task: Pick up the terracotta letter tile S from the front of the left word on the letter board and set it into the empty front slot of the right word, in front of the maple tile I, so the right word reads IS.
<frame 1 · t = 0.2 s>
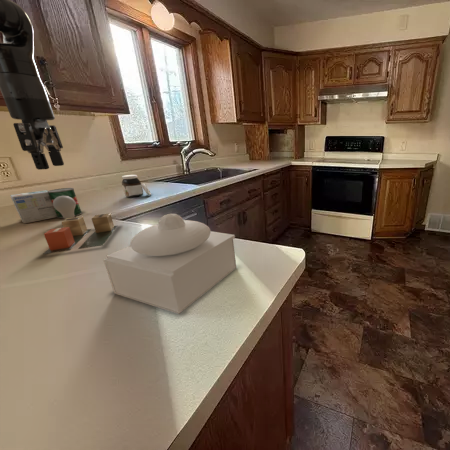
hand: (51, 167, 64), 23 cm above the counter, tool pointing down, fingers open, 8 cm apart
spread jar: (139, 196, 136), on the counter
light bulb box: (41, 219, 100), on the counter, touching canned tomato
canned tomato: (70, 215, 104), on the counter, touching light bulb box
letter board: (86, 241, 77), on the counter
tile i: (105, 229, 83), point 1 cm above the counter, touching letter board
tile a: (77, 233, 80), point 1 cm above the counter, touching letter board
lightbulb: (71, 224, 93), on the counter
butter dish: (182, 281, 55), on the counter
tile s: (63, 246, 71), point 1 cm above the counter, touching letter board
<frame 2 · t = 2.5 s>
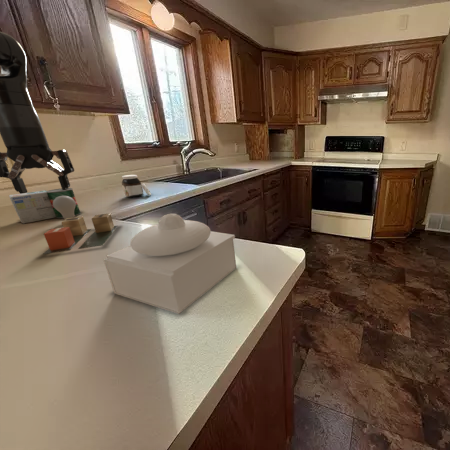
hand: (45, 191, 65), 17 cm above the counter, tool pointing down, fingers open, 8 cm apart
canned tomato: (69, 215, 104), on the counter, touching light bulb box
everything else where it was.
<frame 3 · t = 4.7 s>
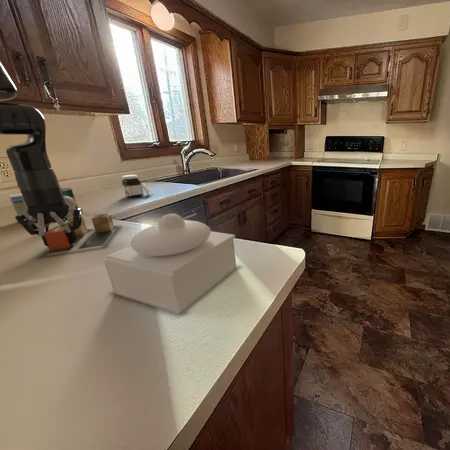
hand: (62, 244, 71), 2 cm above the counter, tool pointing down, fingers closed on tile s, 4 cm apart
tile s: (63, 246, 71), point 1 cm above the counter, touching gripper, letter board
everything else where it was.
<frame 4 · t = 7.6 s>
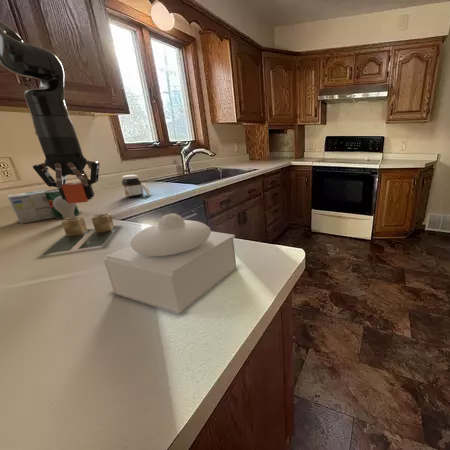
hand: (79, 199, 69), 14 cm above the counter, tool pointing down, fingers closed on tile s, 4 cm apart
tile s: (80, 201, 69), point 14 cm above the counter, touching gripper
everything else where it was.
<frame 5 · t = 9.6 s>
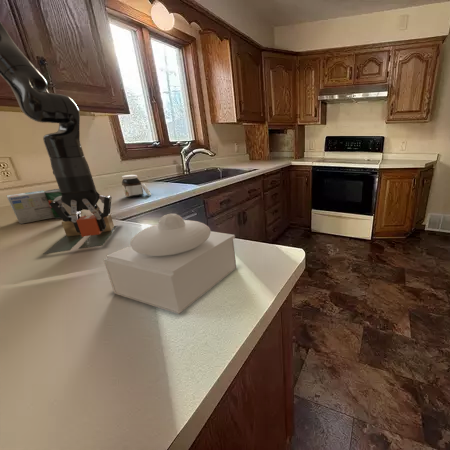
hand: (92, 231, 73), 4 cm above the counter, tool pointing down, fingers closed on tile s, 4 cm apart
tile s: (93, 233, 73), point 4 cm above the counter, touching gripper
everything else where it was.
when the fingers open (2 cm above the counter, at t = 10.8 s): tile s stays where it is, resting on letter board.
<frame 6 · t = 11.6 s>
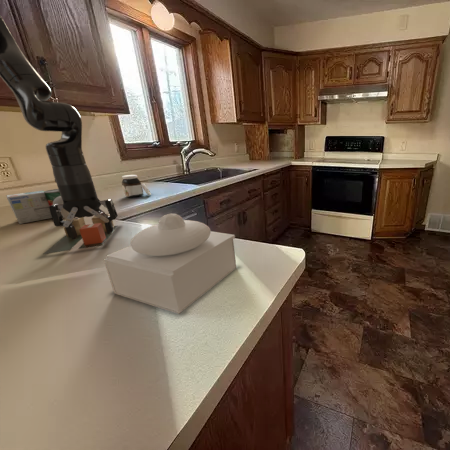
hand: (92, 235, 73), 3 cm above the counter, tool pointing down, fingers open, 8 cm apart
tile s: (95, 241, 74), point 1 cm above the counter, touching letter board
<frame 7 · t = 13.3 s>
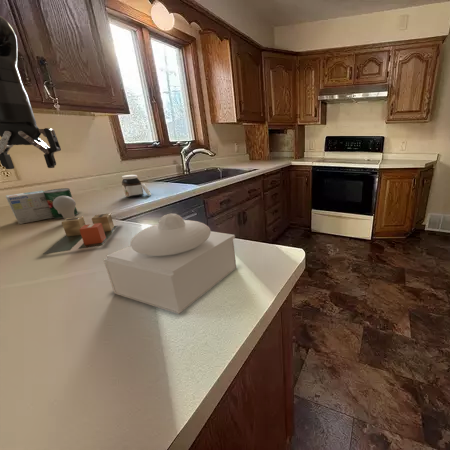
hand: (31, 168, 67), 23 cm above the counter, tool pointing down, fingers open, 8 cm apart
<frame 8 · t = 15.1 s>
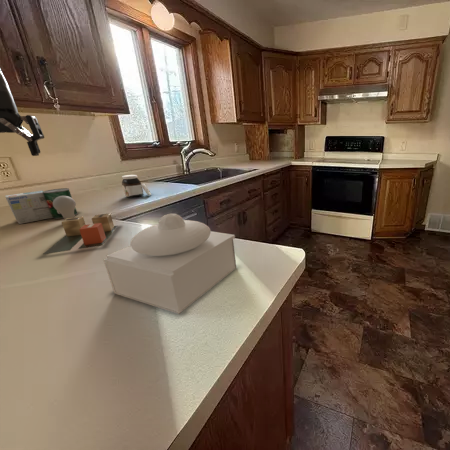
hand: (15, 156, 67), 26 cm above the counter, tool pointing down, fingers open, 8 cm apart
light bulb box: (36, 219, 99), on the counter, touching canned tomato
at the end: tile s 0.1 cm from the target spot on the letter board, point 1.1 cm above the letter board's base; tile s tilted 0°; tile i moved 0.0 cm from its start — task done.
